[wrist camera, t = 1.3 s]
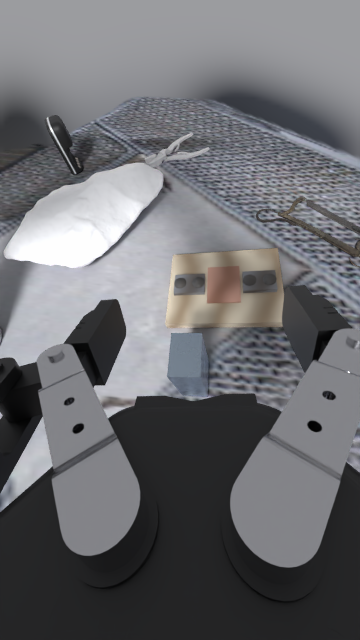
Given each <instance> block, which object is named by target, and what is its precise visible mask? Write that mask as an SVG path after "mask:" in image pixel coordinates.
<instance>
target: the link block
mask: <svg viewBox="0 0 360 640" xmlns="http://www.w3.org/2000/svg"><path fill="white" fill-rule="evenodd" d="M208 373H209V360H208V356H207V352H206V348H205V343H204V339H203V335H202V333H171V343H170V353H169V364H168V374H167V377H168V378H169V379H170V381H171V382H172V383H173V384H174V385H175V387H176V388H177V389H178V390H179V391H180V393H181V394H182V395H183V396H205V397H208Z"/></svg>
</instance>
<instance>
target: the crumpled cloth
mask: <svg viewBox="0 0 360 640" xmlns="http://www.w3.org/2000/svg"><path fill="white" fill-rule="evenodd" d="M162 187H163V174H162V173H161V172H160V171H159V170H158V169H154V168H152V167H150V166H148V165H146V164H143V163H132V164H126V165H124V166H121V167H117V168H115V169H112V170H109V171H103V172H97V173H95V174H93V175H92V176H91V177H90V178H89V179H88V180H86V181H85V182H82V183H79V184H74V185H64V186H63V187H61V188H59V189H57V190H54V191H52V192H51V193H50V194H49V195H48V196H46V197H44V198H42V199H40V200H38V201H37V203H36V204H35V206H34V208H33V209H31V210H30V211H28V212H27V213H26V215H25V217H24V219H23V221H22V222H21V224H20V226H19V228H18V229H17V231H16V233H15V234H14V235H13V237H12V238H11V240H10V241H9V243H8V244H7V246H6V248H5V250H4V252H3V253H4V256H5V258H7V259H15V260H19V261H32V262H34V263H39V264H46V265H50V266H53V265H55V264H57V265H61V266H67V267H69V268H80V267H84V266H87V265H89V264H90V263H92V262H93V261H94V260H95V259H96V258H98V257H100V256H102V255H103V254H104V253H105V252H106V251H107V250H108V249H109V248H110V247H111V246H112V245H113V244H115V243H116V242H117V241H118V240H119V239H120V238H121V236H122V235H123V234H124V233H125V231H126V230H127V229H129V227H130V226H131V224H132V223H133V222H134V221H135V220H136V219H137V217H138V216H139V214H140V213H141V211H142V210H143V209H144V208H146V207H147V206H148V205H149V204H150V202H151V201H152V200H153V199H154V198H155V197H157V196H158V193H159V191H160V190H161V189H162Z"/></svg>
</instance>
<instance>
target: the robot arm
mask: <svg viewBox="0 0 360 640" xmlns="http://www.w3.org/2000/svg"><path fill="white" fill-rule="evenodd" d="M282 325H283V329H284V331H285V333H286V335H287V337H288V339H289V341H290V343H291V345H292V348H293V350H294V352H295V354H296V356H297V358H298V360H299V362H300V364H301V366H302V368H303V370H304V372H305V375H304V376H303V378H302V380H301V381H300V383H299V384H298V386H297V388H296V389H295V391H294V393H293V394H292V396H291V398H290V399H289V401H288V403H287V404H286V406H285V408H284V409H283V411H282V412H281V411H279V410H277V409H275V408H272V407H270V406H267V405H263V404H259V403H257V400H256V396H255V394H224V395H220V396H216V397H211V398H207V399H203V400H199V401H188V400H183V399H178V398H173V397H168V396H137V399H136V402H135V406H132V407H129V408H126V409H124V410H121V411H119V412H117V413H116V414H114V415H112V416H111V417H109V418H107V416H106V414H105V412H104V410H103V407H102V405H101V403H100V401H99V399H98V397H97V395H96V393H95V391H94V389H93V388H94V386H95V385H105V384H106V382H107V379H108V377H109V375H110V372H111V370H112V367H113V365H114V363H115V360H116V358H117V356H118V353H119V351H120V349H121V346H122V344H123V342H124V339H125V337H126V326H125V322H124V319H123V315H122V312H121V308H120V305H119V302H118V300H117V299H112V300H101V301H100V302H99V304H98V305H97V307H96V308H95V309H94V310H93V311H91V312H89V313H88V314H86V315H85V316H84V317H83V318H82V320H81V321H80V322H79V324H78V325H77V326H76V328H75V329H74V330H73V332H72V333H71V334H70V336H69V337H68V338H67V340H66V341H65V342H64V344H60V345H56V346H53V347H51V348H49V349H47V350H45V351H44V352H43V353H41V354H40V356H39V357H38V359H37V362H35V363H31V364H27V365H23V366H20V367H19V366H18V364H17V362H16V361H15V359H13V358H2V359H0V412H1V414H2V415H3V417H2V418H1V419H0V493H1V491H2V489H3V487H4V485H5V484H6V482H7V480H8V478H9V476H10V475H11V473H12V471H13V469H14V467H15V466H16V464H17V462H18V460H19V458H20V456H21V455H22V453H23V451H24V449H25V447H26V446H27V444H28V442H29V440H30V438H31V437H32V435H33V433H34V431H35V429H36V427H37V426H38V424H39V422H40V420H41V418H42V417H43V419H44V424H45V429H46V434H47V439H48V444H49V449H50V454H51V459H52V464H53V467H52V468H50V469H49V470H48V471H47V472H46V473H45V474H44V475H42V476H41V477H40V478H39V479H38V480H37V481H36V482H34V483H33V484H32V485H31V486H30V487H29V488H28V489H26V490H25V491H24V492H23V493H22V494H21V495H20V496H18V497H17V498H16V499H15V500H14V501H13V502H12V503H10V504H9V505H8V506H7V507H6V508H5V509H4V510H2V511H1V512H0V640H360V473H359V472H358V471H357V470H355V469H354V468H353V467H352V466H351V465H349V464H348V463H347V462H346V460H347V457H348V454H349V451H350V448H351V445H352V442H353V439H354V436H355V433H356V430H357V427H358V424H359V420H360V330H358V329H353V328H352V327H351V326H350V325H349V324H348V323H347V322H346V320H345V319H344V318H343V317H342V316H341V315H340V314H339V313H338V311H337V310H336V309H335V308H333V306H332V305H331V304H330V302H329V301H328V300H326V299H324V298H322V297H320V296H319V295H312V293H311V292H310V291H309V290H308V288H307V287H306V286H305V285H301V286H288V287H286V289H285V293H284V302H283V311H282ZM1 337H2V331H1V328H0V342H1Z"/></svg>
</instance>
